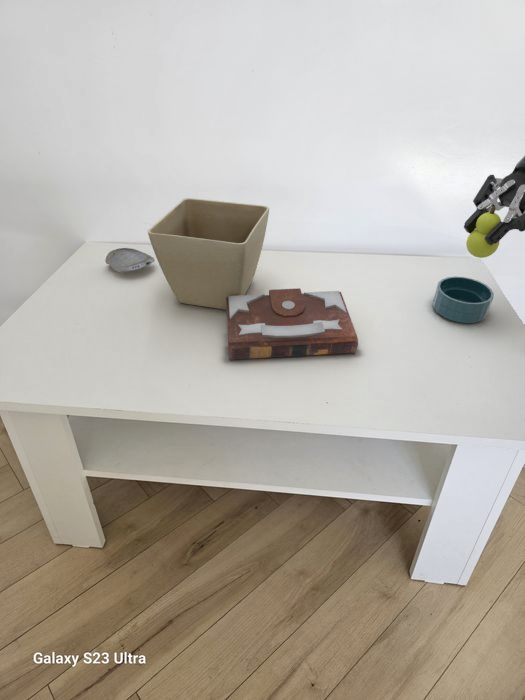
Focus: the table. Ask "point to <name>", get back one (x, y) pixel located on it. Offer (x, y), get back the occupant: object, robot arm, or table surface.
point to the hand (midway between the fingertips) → (477, 235)
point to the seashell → (128, 259)
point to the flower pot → (209, 249)
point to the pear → (483, 235)
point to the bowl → (462, 299)
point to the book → (289, 324)
